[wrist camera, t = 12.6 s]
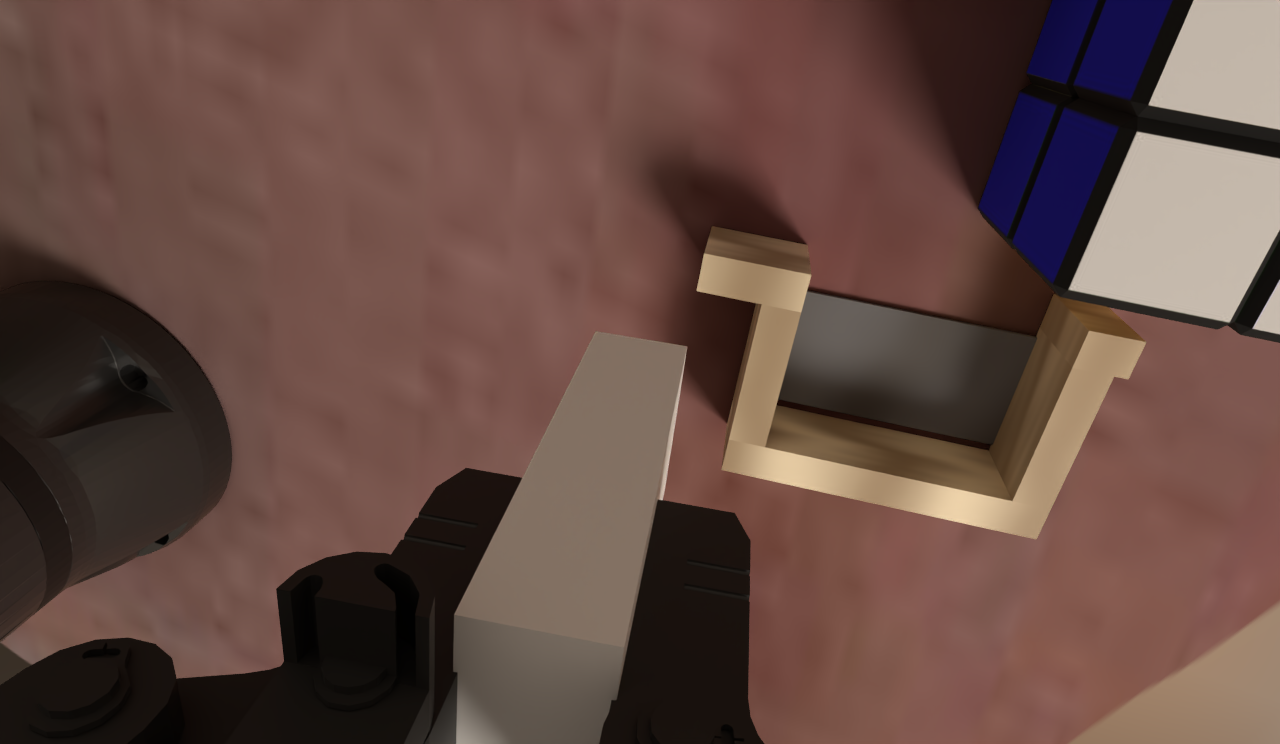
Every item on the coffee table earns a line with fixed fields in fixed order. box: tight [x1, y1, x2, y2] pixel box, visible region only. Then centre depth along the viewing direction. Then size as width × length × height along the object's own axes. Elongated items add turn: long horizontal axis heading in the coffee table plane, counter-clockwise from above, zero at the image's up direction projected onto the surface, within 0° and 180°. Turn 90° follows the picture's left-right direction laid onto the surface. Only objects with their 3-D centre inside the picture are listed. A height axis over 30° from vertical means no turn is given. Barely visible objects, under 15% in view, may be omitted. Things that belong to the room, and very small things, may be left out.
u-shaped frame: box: [697, 226, 1146, 539], centre depth 29 cm, size 16×24×4 cm
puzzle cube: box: [978, 0, 1280, 343], centre depth 24 cm, size 10×10×10 cm
